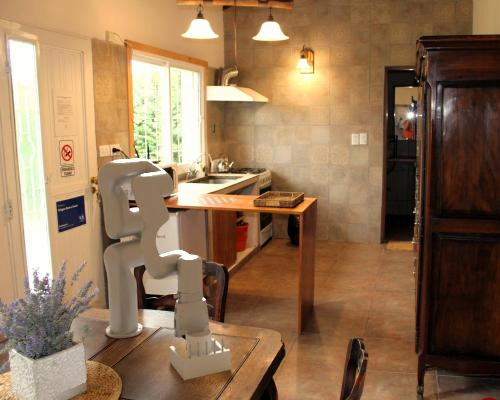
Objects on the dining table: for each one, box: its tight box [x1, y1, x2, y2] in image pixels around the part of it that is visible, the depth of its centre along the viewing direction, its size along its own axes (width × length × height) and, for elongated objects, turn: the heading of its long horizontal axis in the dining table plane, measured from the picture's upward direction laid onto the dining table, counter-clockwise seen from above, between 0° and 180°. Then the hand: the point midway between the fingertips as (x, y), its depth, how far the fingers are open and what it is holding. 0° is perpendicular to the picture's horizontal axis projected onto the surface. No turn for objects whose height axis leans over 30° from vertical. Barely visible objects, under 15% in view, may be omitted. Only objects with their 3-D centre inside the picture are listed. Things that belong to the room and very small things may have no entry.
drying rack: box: [169, 337, 232, 381], centre depth 162 cm, size 13×14×10 cm
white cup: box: [185, 327, 213, 358], centre depth 164 cm, size 8×8×10 cm
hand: (191, 352), depth 168 cm, fingers closed
